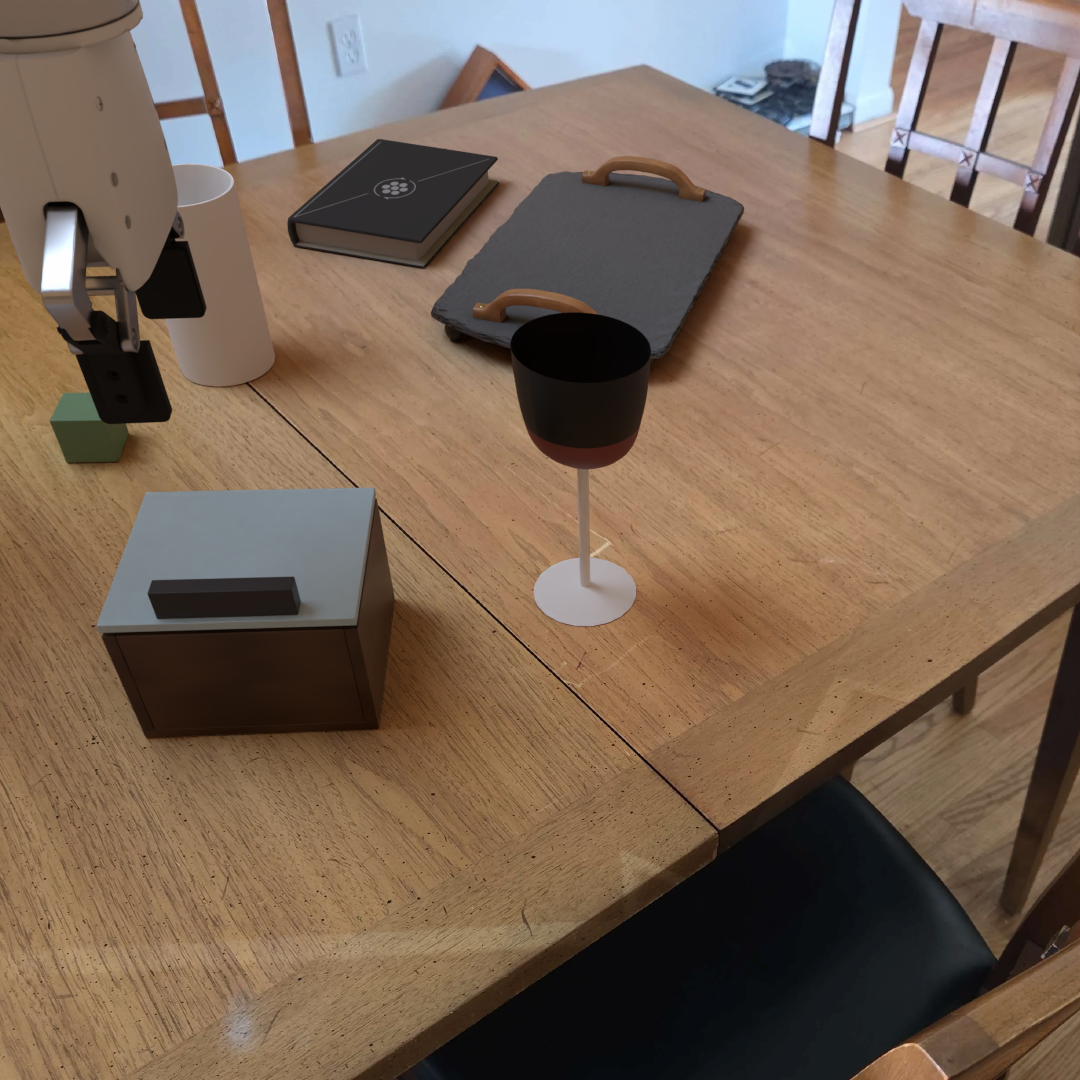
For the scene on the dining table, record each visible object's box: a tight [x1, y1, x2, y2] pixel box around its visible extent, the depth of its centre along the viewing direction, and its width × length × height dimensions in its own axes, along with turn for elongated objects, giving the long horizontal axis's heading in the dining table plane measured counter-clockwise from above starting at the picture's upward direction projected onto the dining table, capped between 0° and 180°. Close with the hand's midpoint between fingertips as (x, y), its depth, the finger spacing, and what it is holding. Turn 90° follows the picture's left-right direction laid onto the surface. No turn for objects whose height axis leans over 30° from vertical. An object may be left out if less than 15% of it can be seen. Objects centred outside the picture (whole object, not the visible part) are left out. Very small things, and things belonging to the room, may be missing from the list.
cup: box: [164, 163, 276, 388], centre depth 98 cm, size 8×8×16 cm
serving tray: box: [430, 155, 745, 371], centre depth 115 cm, size 39×23×6 cm, turn 164°
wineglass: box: [510, 312, 651, 627], centre depth 78 cm, size 8×9×20 cm
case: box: [101, 497, 396, 739], centre depth 75 cm, size 15×13×9 cm
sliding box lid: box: [96, 486, 377, 634], centre depth 71 cm, size 15×13×3 cm
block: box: [49, 392, 130, 464], centre depth 93 cm, size 4×4×4 cm
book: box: [286, 138, 500, 269], centre depth 125 cm, size 22×15×3 cm
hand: (158, 364), depth 58 cm, fingers open, 9 cm apart
